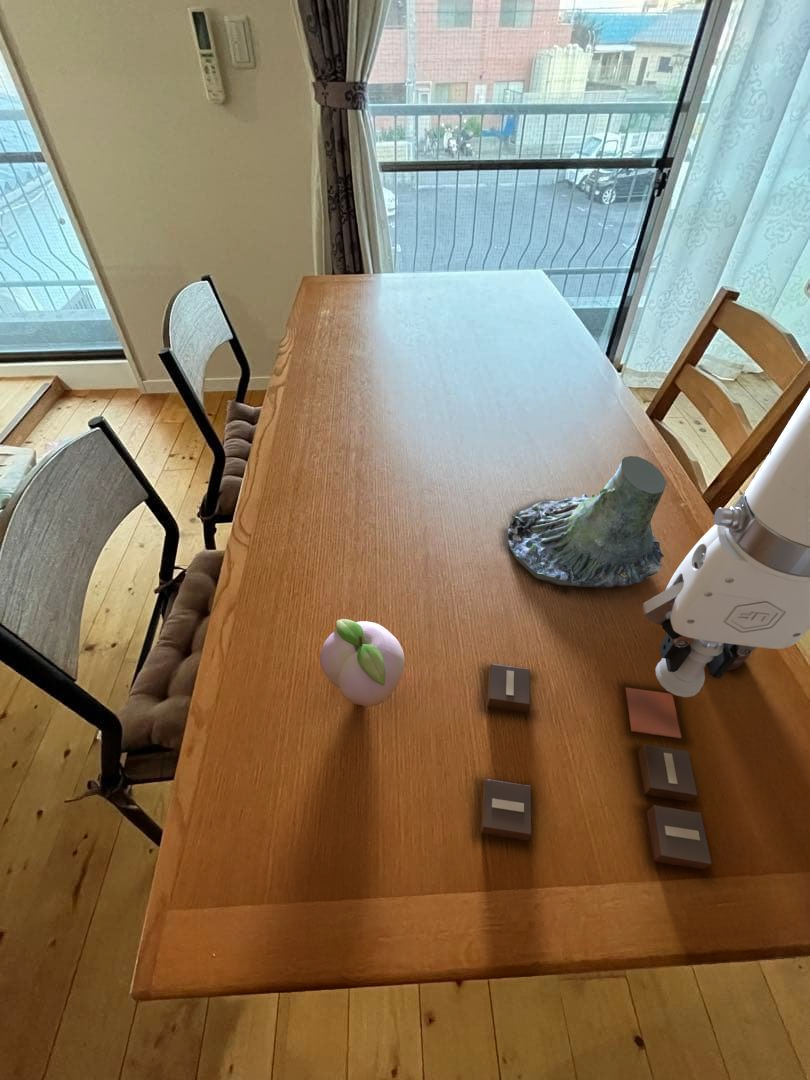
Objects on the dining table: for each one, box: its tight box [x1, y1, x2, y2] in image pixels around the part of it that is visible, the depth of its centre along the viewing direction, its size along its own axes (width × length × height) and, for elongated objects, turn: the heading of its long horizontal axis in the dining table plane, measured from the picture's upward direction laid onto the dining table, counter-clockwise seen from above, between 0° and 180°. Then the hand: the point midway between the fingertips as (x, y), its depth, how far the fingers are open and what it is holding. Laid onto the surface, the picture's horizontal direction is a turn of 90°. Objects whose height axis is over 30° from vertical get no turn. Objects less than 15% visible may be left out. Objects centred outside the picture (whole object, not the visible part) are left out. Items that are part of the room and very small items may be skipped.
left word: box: [480, 663, 532, 841], centre depth 58 cm, size 17×4×2 cm, turn 172°
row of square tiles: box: [624, 687, 712, 870], centre depth 56 cm, size 18×5×2 cm, turn 172°
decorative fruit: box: [319, 618, 405, 707], centre depth 60 cm, size 9×8×10 cm
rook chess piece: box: [655, 639, 724, 698], centre depth 53 cm, size 4×4×8 cm
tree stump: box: [507, 455, 667, 589], centre depth 74 cm, size 18×20×18 cm
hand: (690, 660), depth 54 cm, fingers closed on rook chess piece, 3 cm apart
